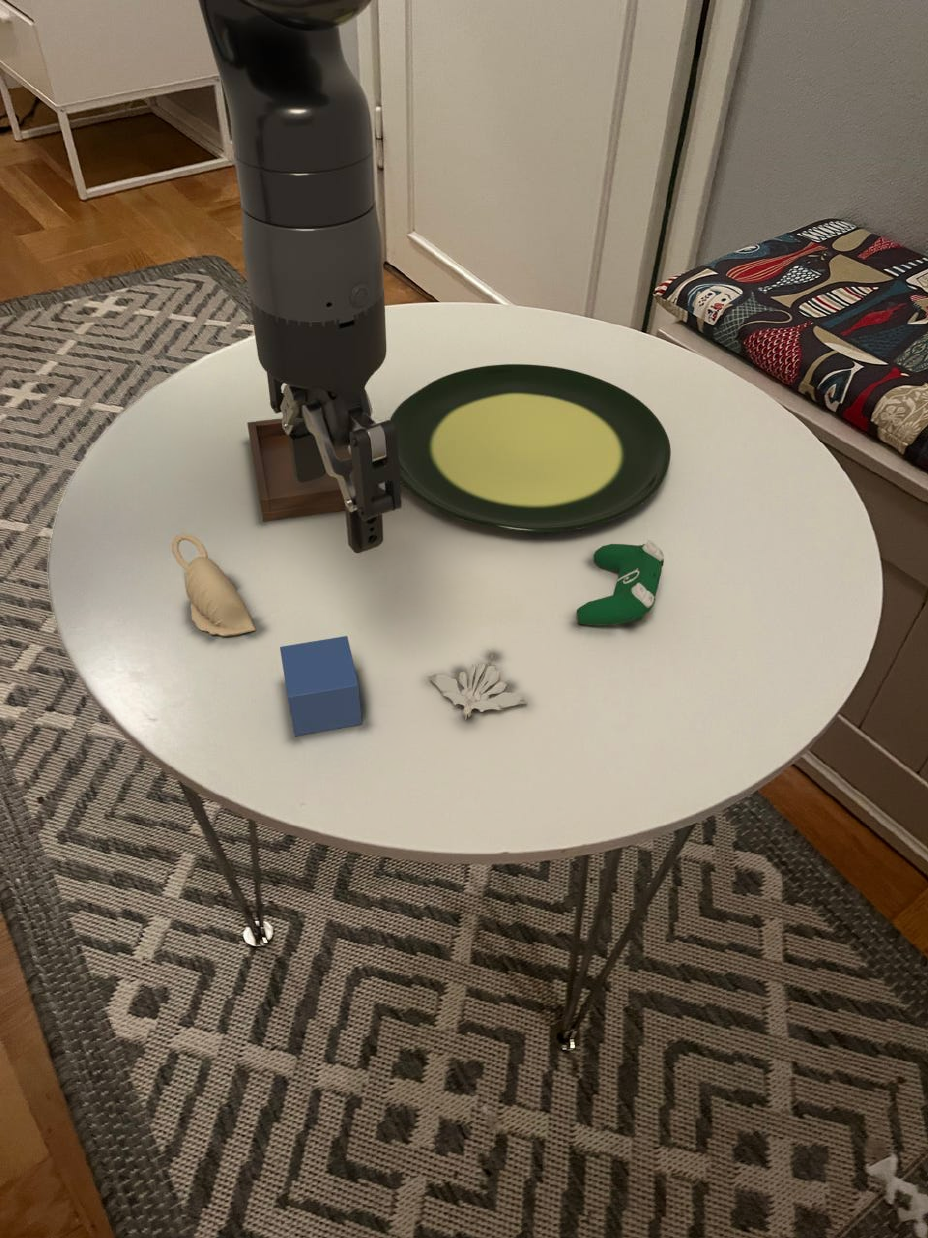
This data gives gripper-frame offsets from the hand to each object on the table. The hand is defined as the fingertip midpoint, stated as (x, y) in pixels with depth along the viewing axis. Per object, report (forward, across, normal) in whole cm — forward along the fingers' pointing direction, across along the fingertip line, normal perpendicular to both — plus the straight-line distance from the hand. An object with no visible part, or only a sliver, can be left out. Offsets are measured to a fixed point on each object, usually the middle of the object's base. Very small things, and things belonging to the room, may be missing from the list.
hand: (337, 510), depth 65 cm
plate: (+15, -16, +27) cm, 35 cm away
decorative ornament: (+15, -11, -7) cm, 20 cm away
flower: (+15, +8, +7) cm, 18 cm away
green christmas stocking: (+15, +5, +23) cm, 28 cm away
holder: (+15, -24, +8) cm, 29 cm away
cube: (+15, +3, -4) cm, 16 cm away
